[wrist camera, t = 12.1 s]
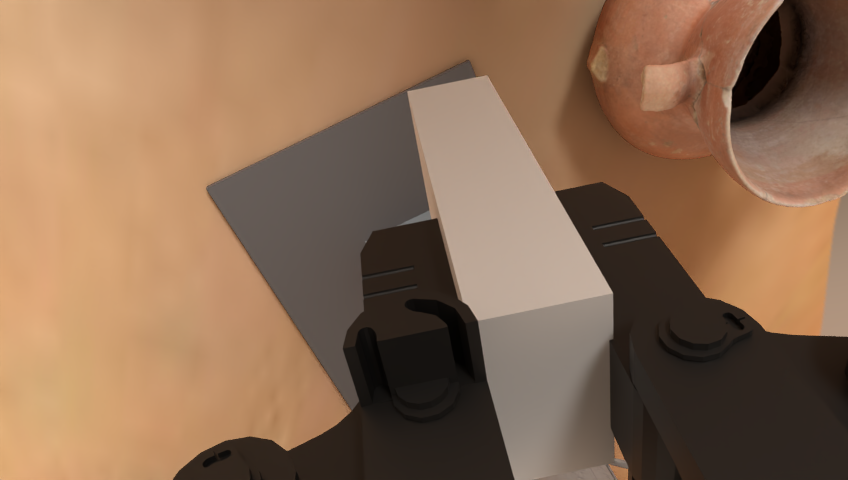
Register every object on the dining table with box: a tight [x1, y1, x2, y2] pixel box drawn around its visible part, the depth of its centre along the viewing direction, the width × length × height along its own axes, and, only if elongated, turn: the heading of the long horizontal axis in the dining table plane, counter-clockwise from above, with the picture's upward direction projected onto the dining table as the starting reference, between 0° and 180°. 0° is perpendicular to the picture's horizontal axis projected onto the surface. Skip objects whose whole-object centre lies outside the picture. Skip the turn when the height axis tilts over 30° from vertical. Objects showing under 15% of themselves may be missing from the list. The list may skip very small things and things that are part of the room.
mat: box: [206, 60, 476, 410], centre depth 46 cm, size 22×18×1 cm
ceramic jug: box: [587, 0, 848, 207], centre depth 37 cm, size 18×14×14 cm
